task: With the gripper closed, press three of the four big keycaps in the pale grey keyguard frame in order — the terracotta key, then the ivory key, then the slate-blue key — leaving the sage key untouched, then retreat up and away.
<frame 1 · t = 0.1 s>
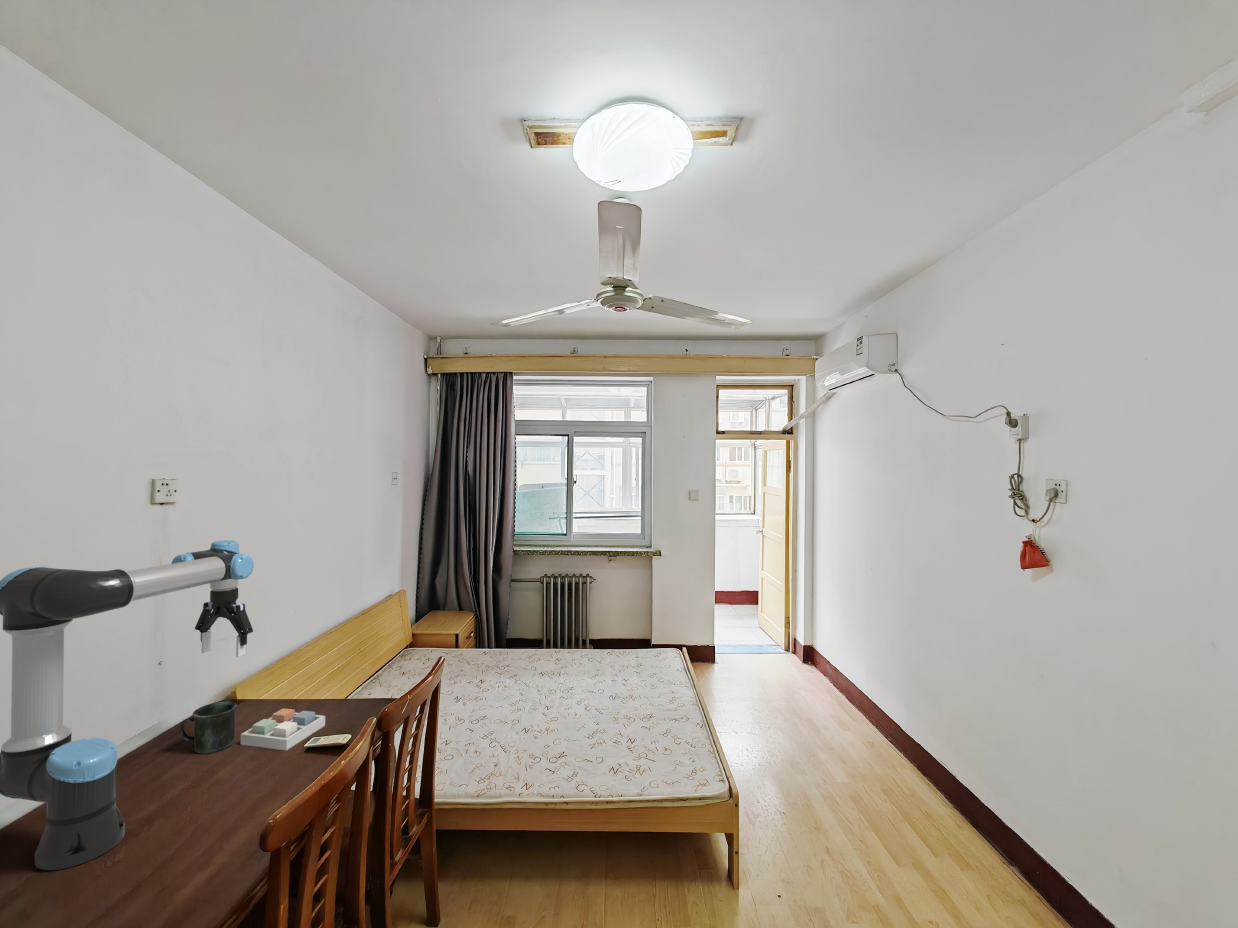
hand: (223, 653, 180), 28 cm above the table, fingers open, 13 cm apart
key ivory: (285, 729, 179), point 4 cm above the table, slide at 0.0 cm
mug: (208, 747, 175), on the table
key sage: (264, 727, 180), point 4 cm above the table, slide at 0.0 cm
key terracotta: (283, 716, 188), point 4 cm above the table, slide at 0.0 cm
keyguard frame: (284, 734, 183), on the table
key slate: (304, 718, 187), point 4 cm above the table, slide at 0.0 cm
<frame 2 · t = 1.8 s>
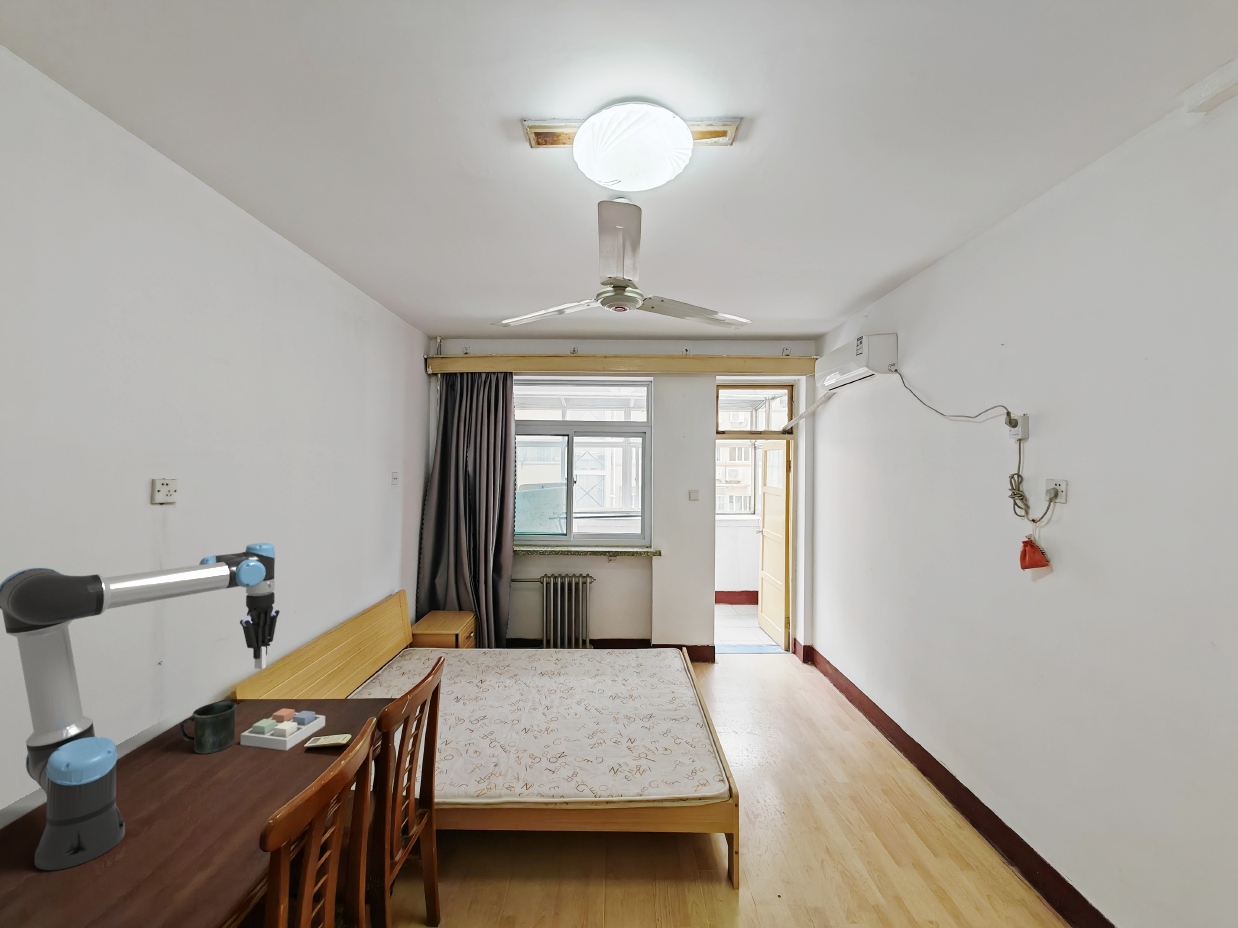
hand: (260, 667, 174), 26 cm above the table, fingers closed
nothing on the table moved.
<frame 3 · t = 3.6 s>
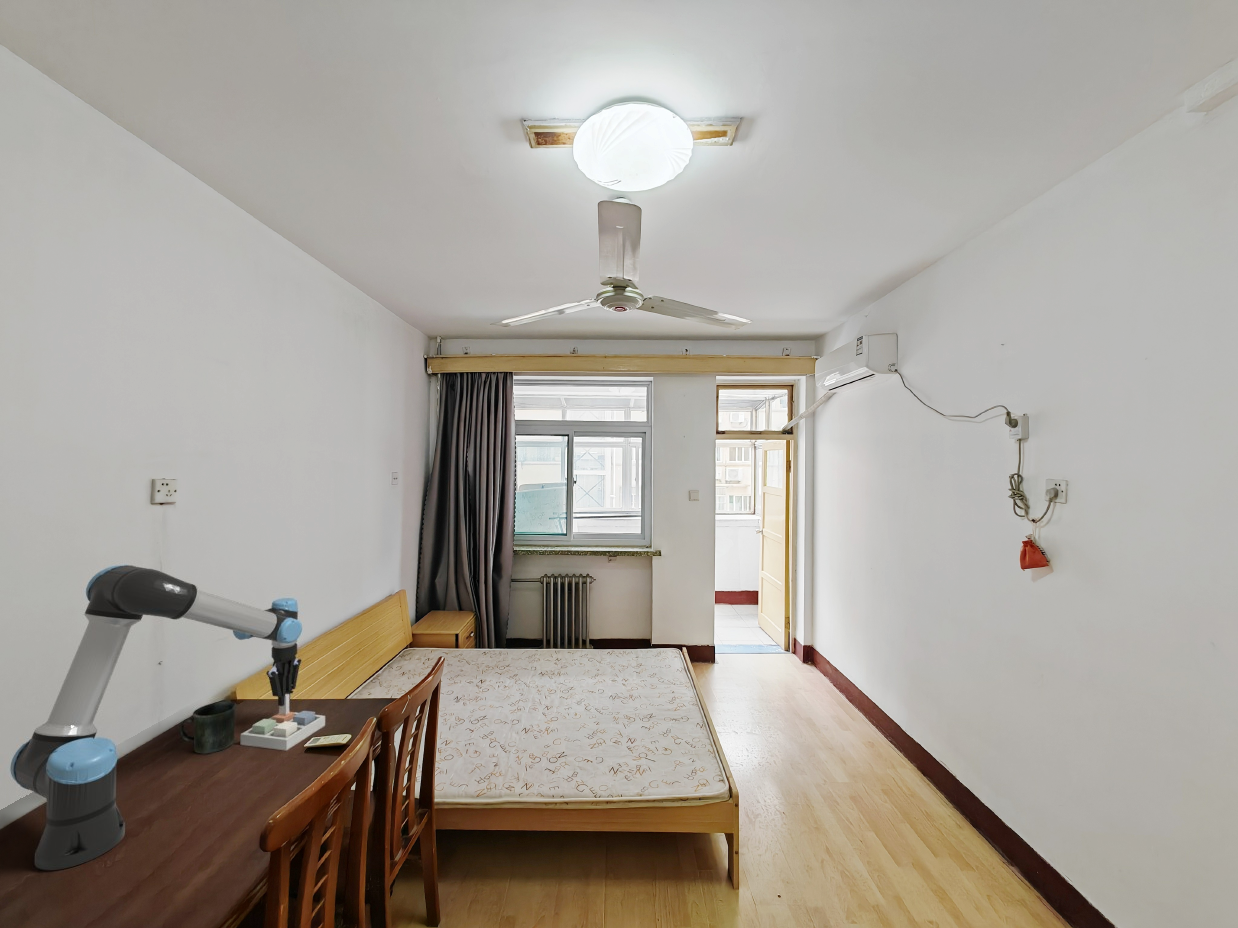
hand: (284, 713, 188), 5 cm above the table, fingers closed
key terracotta: (283, 719, 188), point 3 cm above the table, slide at 0.9 cm, touching gripper
everything else where it was.
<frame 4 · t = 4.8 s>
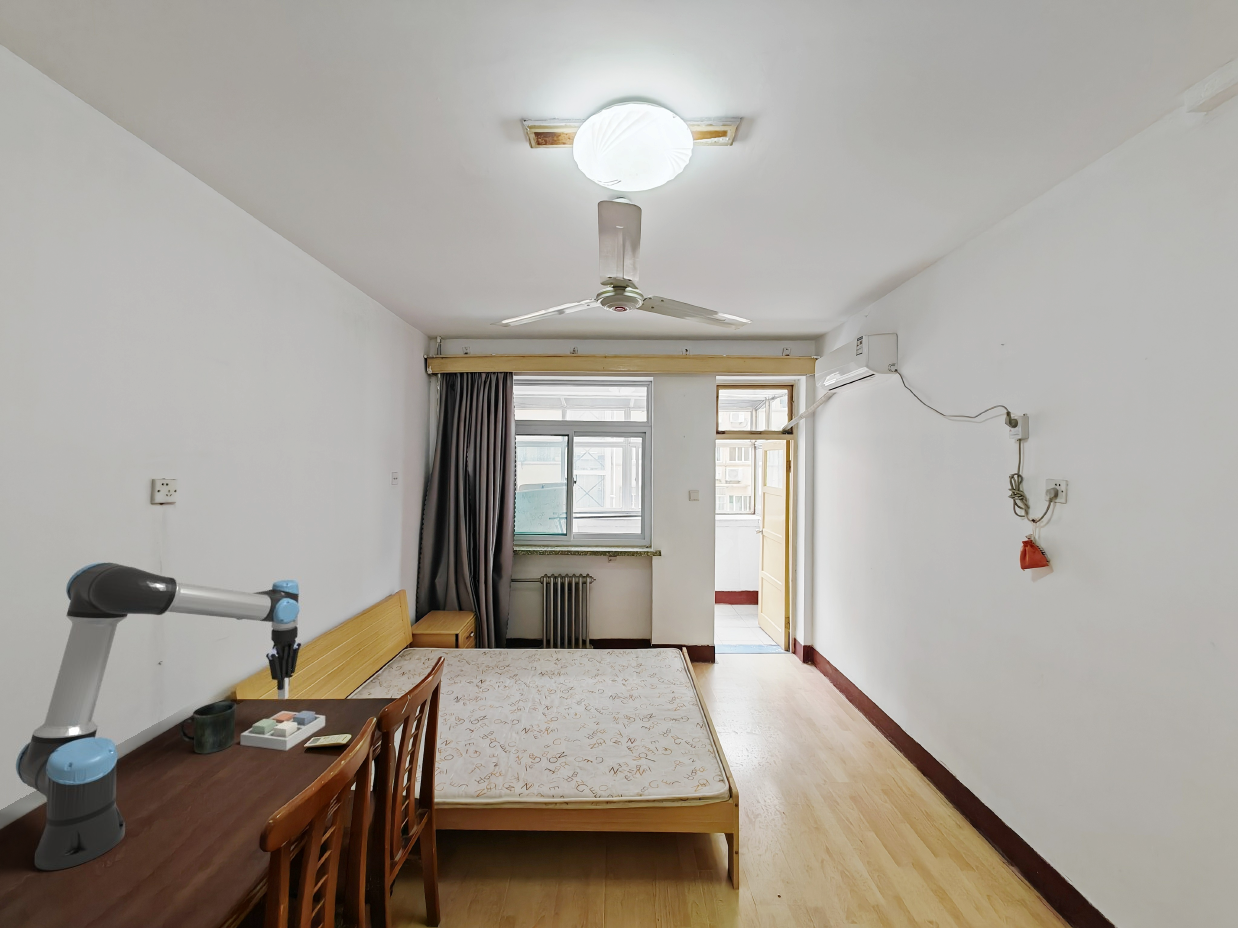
hand: (283, 697, 185), 12 cm above the table, fingers closed
key terracotta: (283, 720, 188), point 2 cm above the table, slide at 1.5 cm
everything else where it was.
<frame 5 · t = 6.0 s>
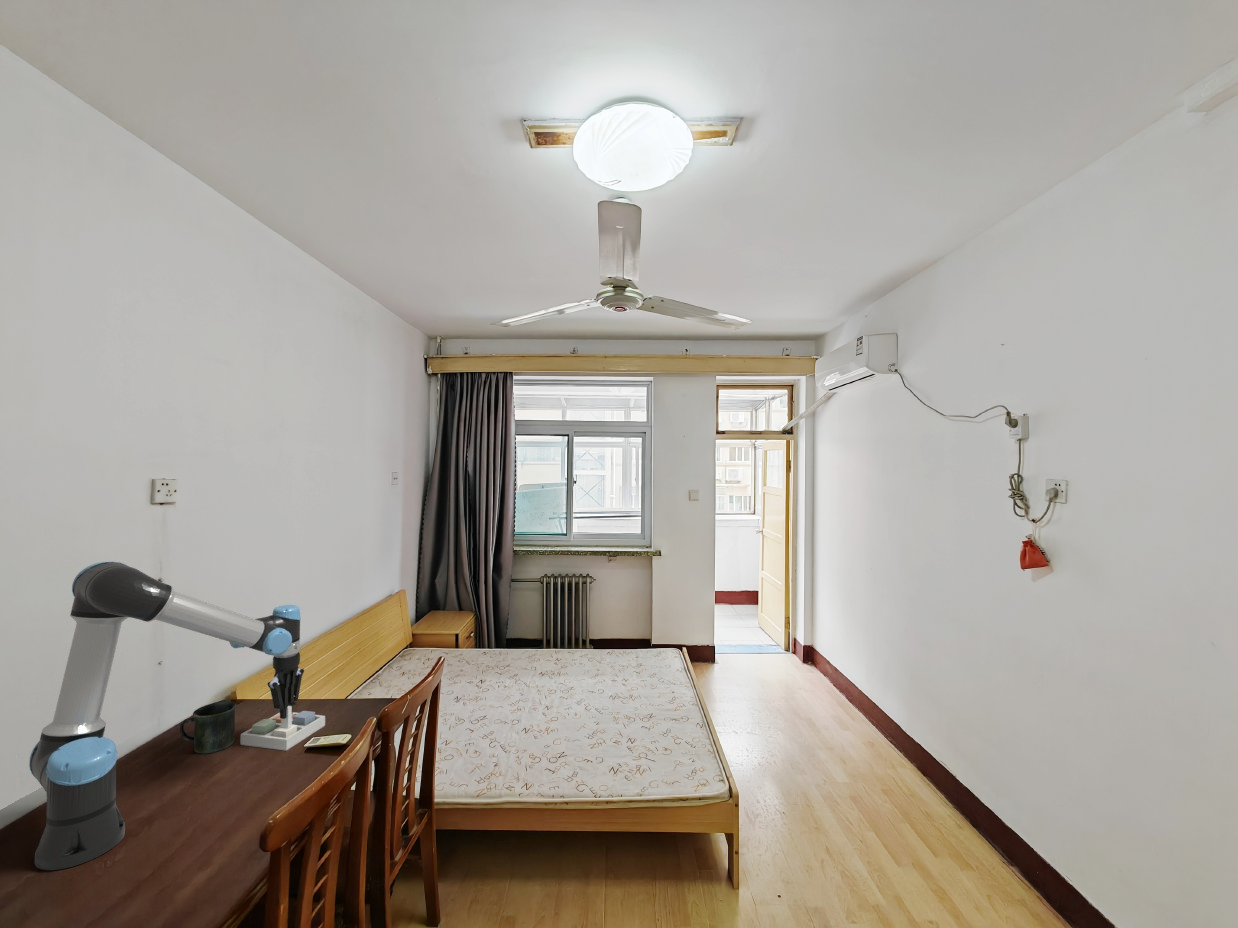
hand: (286, 726, 179), 5 cm above the table, fingers closed
key ivory: (285, 732, 179), point 3 cm above the table, slide at 0.8 cm, touching gripper
everything else where it was.
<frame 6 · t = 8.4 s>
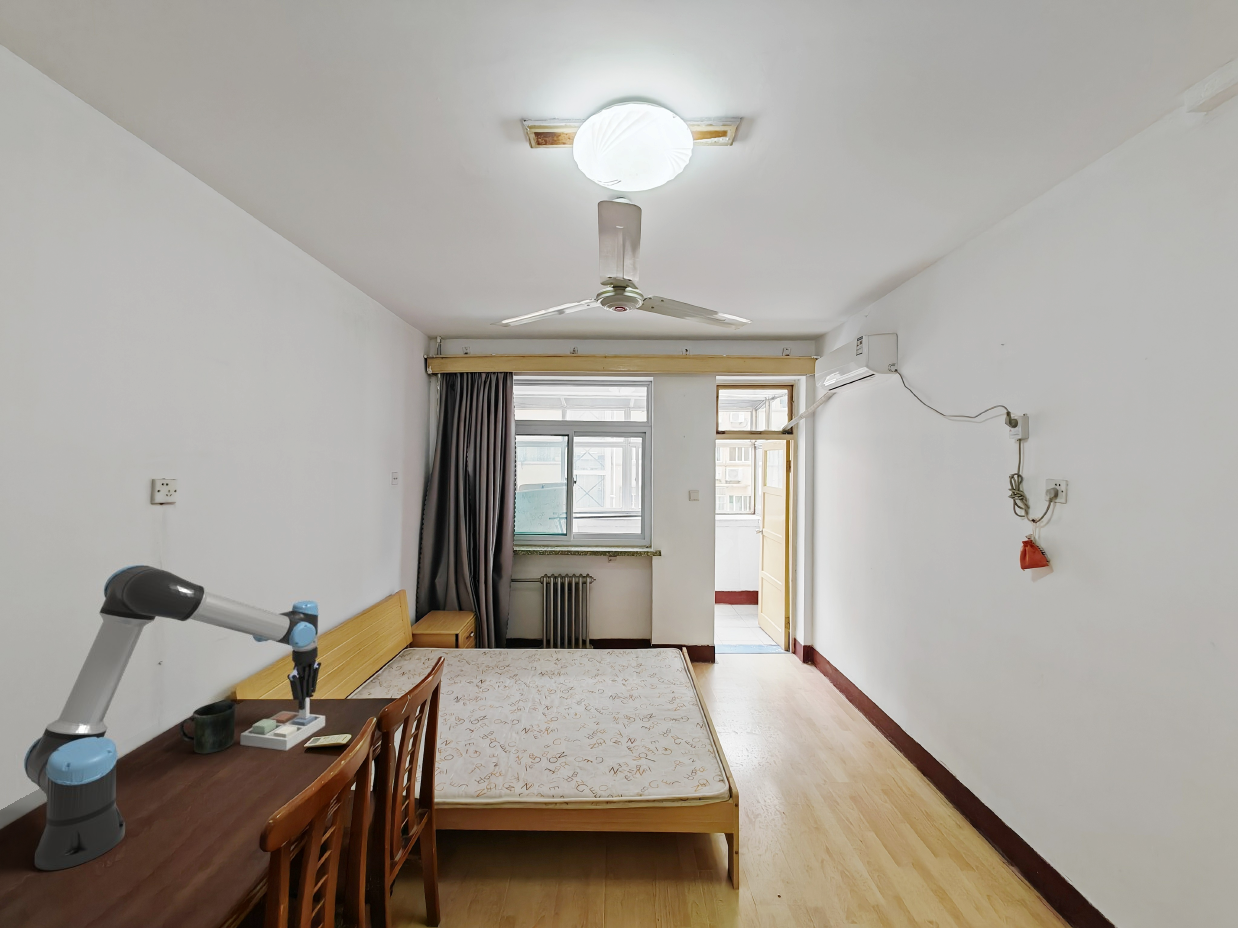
hand: (304, 717, 187), 4 cm above the table, fingers closed
key ivory: (285, 734, 179), point 2 cm above the table, slide at 1.5 cm
key slate: (303, 722, 187), point 3 cm above the table, slide at 1.4 cm, touching gripper
everything else where it was.
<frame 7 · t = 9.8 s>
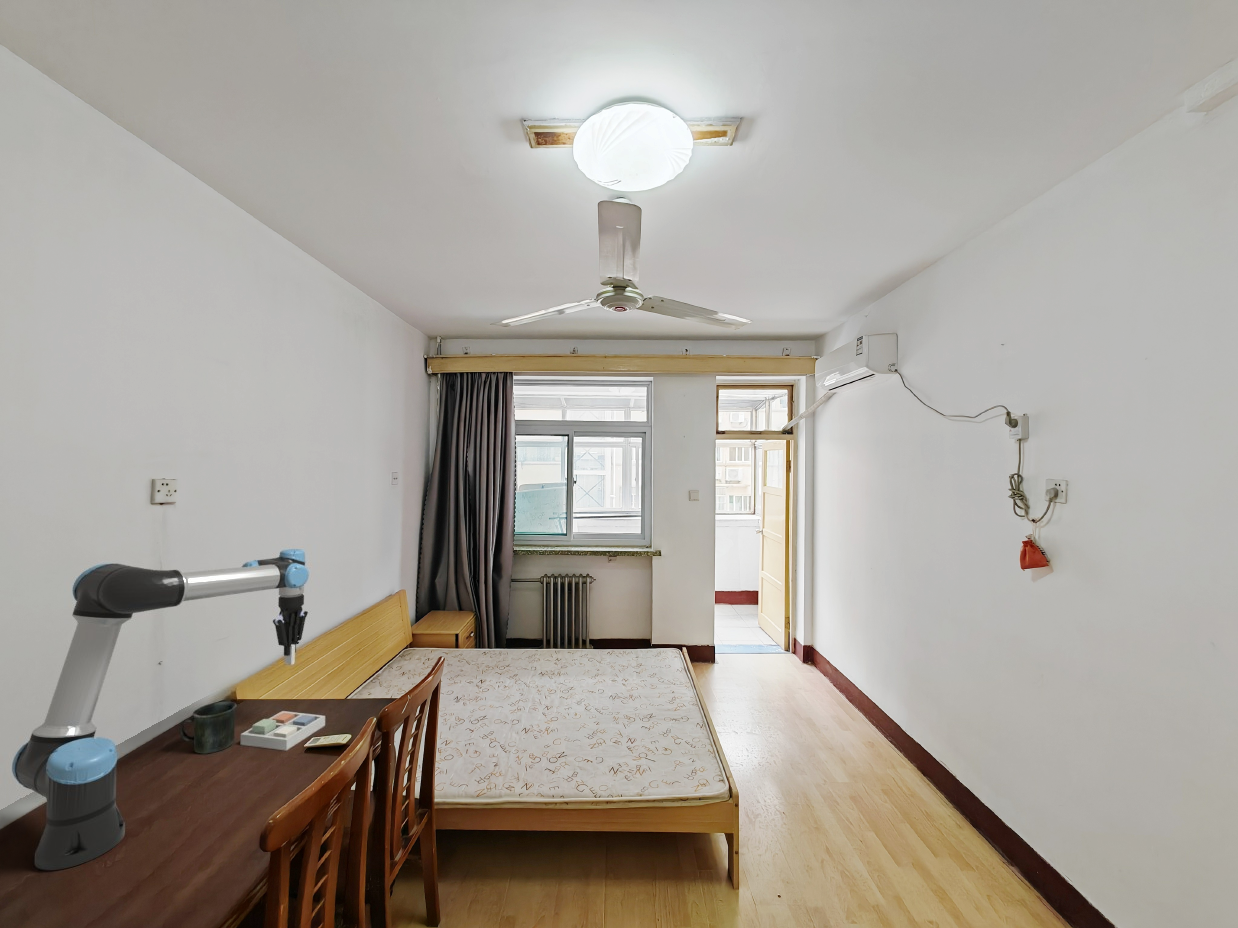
hand: (289, 663, 189), 22 cm above the table, fingers closed
key slate: (303, 723, 187), point 2 cm above the table, slide at 1.5 cm
everything else where it was.
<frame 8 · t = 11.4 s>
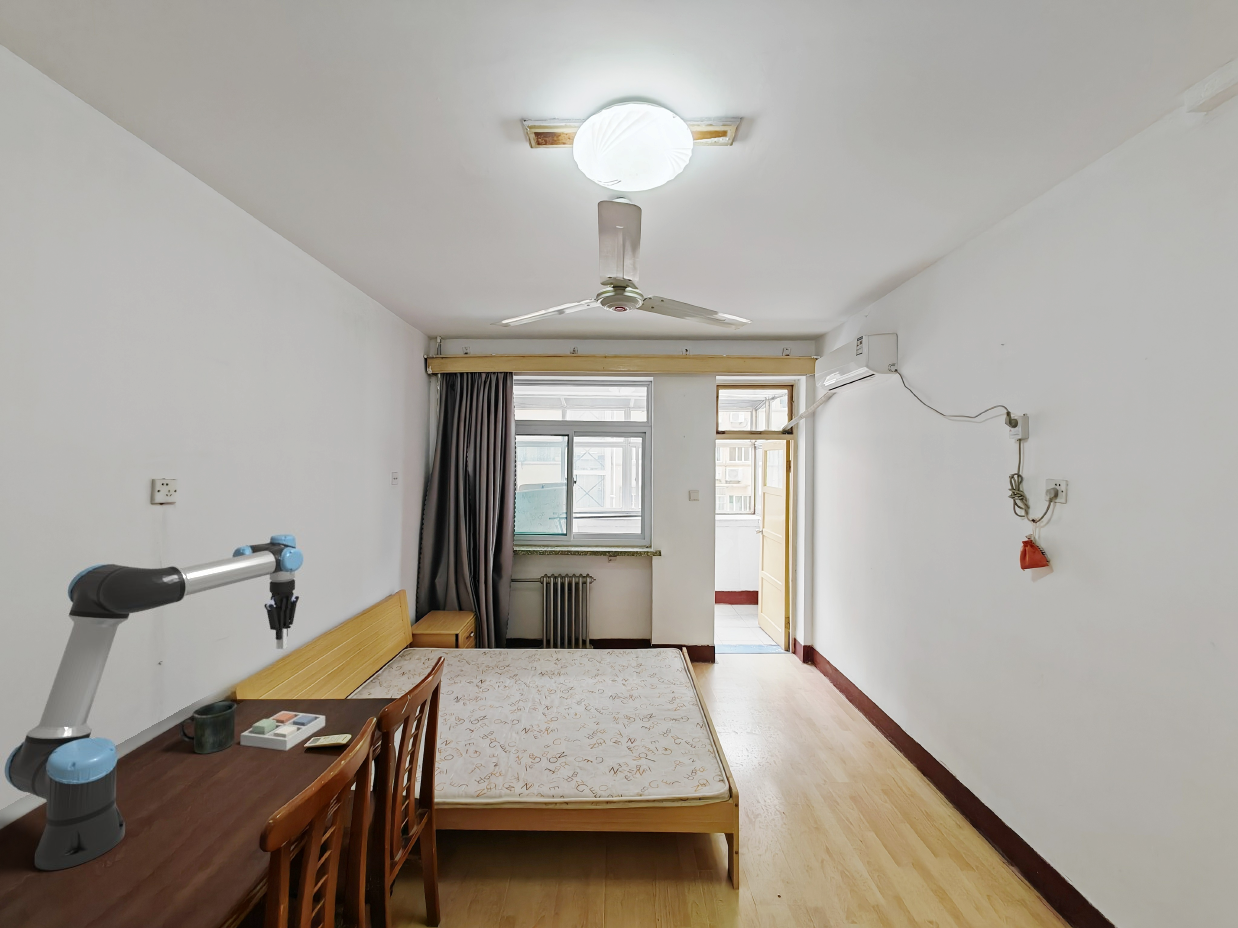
hand: (281, 647, 191), 26 cm above the table, fingers closed
nothing on the table moved.
at the end: key terracotta slide at 1.5 cm; key ivory slide at 1.5 cm; key slate slide at 1.5 cm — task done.
